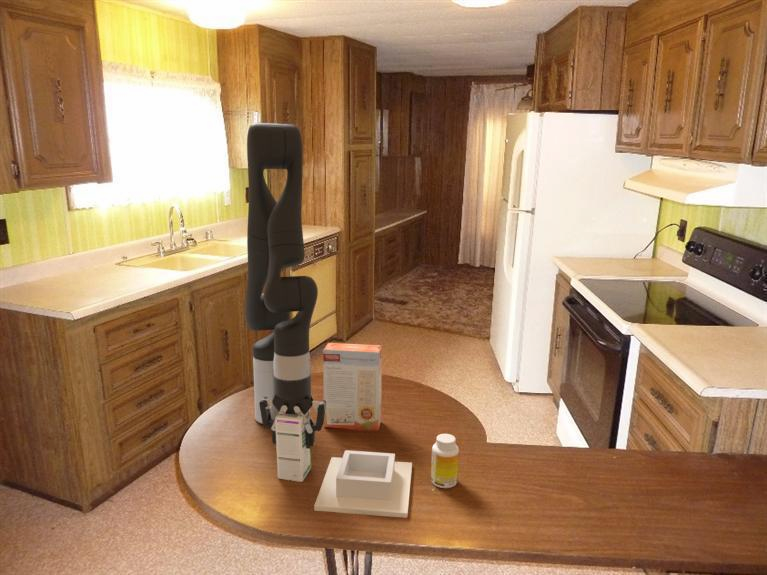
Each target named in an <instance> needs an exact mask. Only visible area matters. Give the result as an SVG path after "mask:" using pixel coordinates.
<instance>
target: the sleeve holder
mask: <svg viewBox="0 0 767 575" xmlns="http://www.w3.org/2000/svg"><path fill="white" fill-rule="evenodd" d="M412 469H413V462H410V461H409V462H406V461H396V454H395V453H389V452H378V451H377V452H376V451H364V450H361V451H359V450H344V452H343V454H342V457H335V456H331V459H330V461H329V464H328V467H327V469H326V473H325V475H324V478H323V481H322V483H321V486H320V489H319V492H318V494H317V497H316V501H315V503H314V505H313V507H314V508H313V509H314V510H313V511H314V512H315V511H316V512H331V513H341V514H343V513H344V514H353V515H364V516H365V515H367V516H368V515H369V516H379V517H380V516H381V517H392V518H393V517H394V518H403V519H404V518H405V519H408V515H409V503H410V493H411V481H412Z"/></svg>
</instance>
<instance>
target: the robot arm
mask: <svg viewBox="0 0 767 575" xmlns="http://www.w3.org/2000/svg"><path fill="white" fill-rule="evenodd" d="M246 136H247V139H246V152H247V153H246V156H247V157H246V158H247V175H248V176H247V179H248V182H247V183H248V210H247V211H248V212H247V213H248V216H247V229H246V230H247V232H246V233H247V236H246V238H247V239H246V240H247V242H246V243H247V244H246V245H247V246H246V247H247V249H246V250H247V277H246V278H247V280H246V281H247V282H246V289H245V290H246V293H245V300H244V302H245V303H244V318H245V319H244V320H245V324H246V325H247V328H248V329H249V330H251V331H256V332H258V331H259V332H260V331H270V330H271V331H272V330H273V331H272V333H270V334H269V335H266V336H265V337H263V338H262V339H259V340H257V341H256V342H255V343H254V344H253V346H252V367H253V369H252V370H253V371H252V372H253V390H254V391H253V392H254V393H253V395H254V418H255V421H256V422H257V423H259V424H262V427H264V428H267V429H268V428H269V429H270V430H271V432H272V434H271V435H272V443H273V444H275V447H276V424H275V417H276V416H278V415H285V414H297V415H298V416H301V417H303V424H304V426H305V428H306V430H307V433H306V446H307V449H310V448H311V449H312V447H313V446H314V444H315V441H316V438H315V437H316V432H320V431H322V428H323V427H324V416H325V409H326V401H325V400H324V399H322V400H321V401H319V400H314V398H313V396H312V378H311V377H312V374H311V373H312V371H311V370H312V369H311V366H312V364H311V361H312V360H311V354H310V328H311V322H312V318H313V313H314V310H315V308H316V304H317V300H318V295H319V292H318V290H319V289H318V286H317V283H316V281H315V280H314V278H312V277H311V276H309V275H293V276H292V275H291V276H281V273H282V272H283V271H284V270H285V269H288V268H292V267H296V266H299V265H302V263H303V262H304V261H305V256H306V254H305V252H306V251H305V244H304V232H303V223H302V221H303V220H302V217H303V216H302V210H303V209H302V208H303V207H302V205H303V202H302V201H303V177H304V176H303V169H304V168H303V167H304V166H303V165H304V162H303V160H304V155H303V154H304V153H303V152H304V148H303V139H302V138H303V137H302V133H301V131H300V129H299V127H298V126H297V125H295V124H290V123H289V124H288V123H274V122H273V123H271V122H265V123H264V122H254V123H251V125H250V126H249V127H248V130H247V135H246ZM264 170H287V172H286V173H287V176H286V183H285V186H284V188H283V190H282V193H281V194H280V196H279V198H278V200H276V199H275V197H274V196H273V194H272V192H271V191H270V188H269V186H268V184H267V182H266V179H265V175H264ZM292 312H297V313H296V314H295V316H294V317H292V316H291V313H292ZM291 317H292V318H291ZM312 407H313V408H314V412H315V413H317V414H316V421H315V422H314V420H313V418H312V414H311V411H310V412H309V409H310V410H311V408H312ZM307 412H308V416H307V417H305V414H306V413H307Z"/></svg>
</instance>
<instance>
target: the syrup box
mask: <svg viewBox="0 0 767 575" xmlns="http://www.w3.org/2000/svg"><path fill="white" fill-rule="evenodd" d="M309 412H310V413H311V408H310V409H309ZM307 416H308V412H307V413H306V414H305V417H307ZM275 424H276V446H275V448H276V468H277V473H276V474H277V479H281V480H285V481H290V480H291V482H292V481H293V482H299V483H303V482H304V480H305V479H306V478H307V475H308V473H309V472H310V471H311V469H312V447H311V448H310V449H307V446H306V433H307V430H306V428H305V426H304V424H303V417H301V416H298V415H297V414H285V415H278V416H276V417H275Z"/></svg>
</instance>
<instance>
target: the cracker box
mask: <svg viewBox="0 0 767 575" xmlns="http://www.w3.org/2000/svg"><path fill="white" fill-rule="evenodd" d="M382 345H383V344H382ZM382 345H379V344H362V343H341V342H340V343H339V342H328V343H327V344H326V346H325V347H324V348H323V349H322V356H323V357H322V358H323V359H322V363H323V364H322V365H323V366H322V367H323V368H322V372H323V374H322V376H323V378H322V380H323V386H322V387H323V391H322V392H323V400H325V401H326V409H325V416H324V423H323V427H324V428H333V429H348V430H362V431H363V430H364V431H377V432H378V431H379V429H380V425H381V422H382V380H383V379H382V378H383V377H382V374H383V373H382V372H383V370H382V367H383V363H382V362H383V361H382V360H383V359H382V358H383V350H382V349H383V348H382V347H383V346H382Z"/></svg>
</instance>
